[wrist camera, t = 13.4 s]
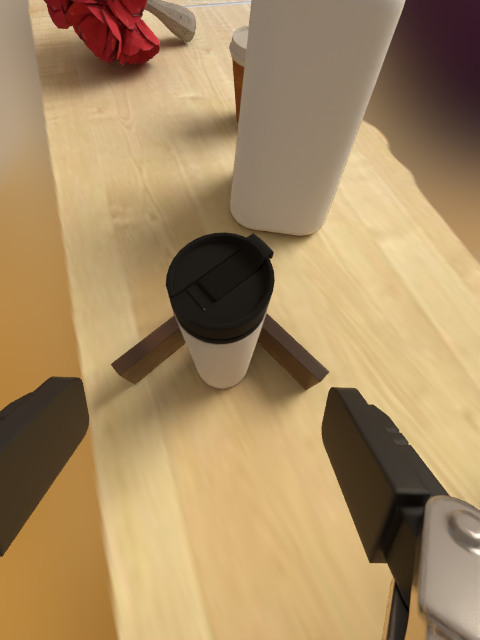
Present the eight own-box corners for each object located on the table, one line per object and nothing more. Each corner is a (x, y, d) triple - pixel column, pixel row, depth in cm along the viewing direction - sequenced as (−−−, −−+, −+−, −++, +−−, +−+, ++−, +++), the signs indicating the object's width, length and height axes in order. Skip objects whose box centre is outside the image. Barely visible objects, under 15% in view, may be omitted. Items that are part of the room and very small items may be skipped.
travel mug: (260, 365, 33) (304, 275, 15) (218, 401, 31) (210, 349, 13) (228, 328, 35) (231, 208, 16) (186, 360, 33) (138, 264, 14)
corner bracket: (226, 295, 37) (226, 275, 32) (315, 380, 33) (329, 371, 28) (126, 374, 32) (110, 364, 27) (216, 487, 28) (215, 497, 23)
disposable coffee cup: (221, 112, 53) (220, 28, 42) (263, 102, 55) (273, 20, 44) (240, 141, 50) (245, 58, 39) (285, 130, 52) (301, 48, 41)
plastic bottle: (226, 230, 41) (228, -107, 16) (238, 164, 47) (254, -156, 22) (323, 243, 41) (483, -75, 16) (322, 175, 47) (437, -132, 22)
